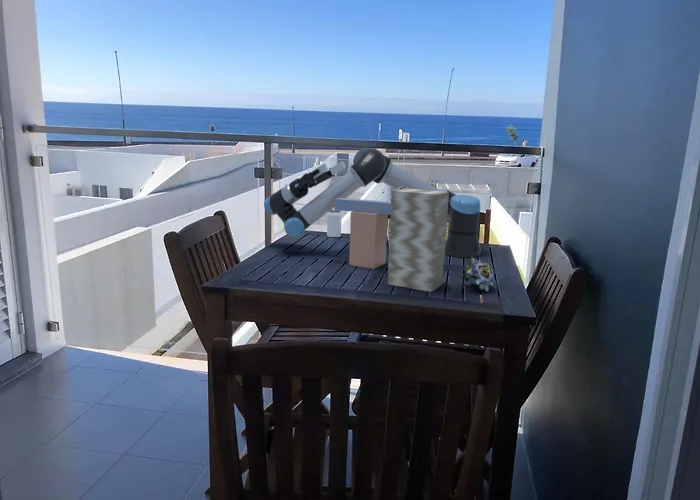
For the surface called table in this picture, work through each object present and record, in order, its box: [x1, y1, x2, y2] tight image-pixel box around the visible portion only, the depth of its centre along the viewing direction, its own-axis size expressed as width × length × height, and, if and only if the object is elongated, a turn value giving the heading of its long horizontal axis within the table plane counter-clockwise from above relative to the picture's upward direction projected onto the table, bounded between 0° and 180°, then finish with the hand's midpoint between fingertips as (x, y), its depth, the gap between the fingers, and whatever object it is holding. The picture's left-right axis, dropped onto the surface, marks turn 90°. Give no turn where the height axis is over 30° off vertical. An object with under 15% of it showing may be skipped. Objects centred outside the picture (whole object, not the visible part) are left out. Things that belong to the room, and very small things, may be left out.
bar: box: [334, 197, 391, 216], centre depth 188 cm, size 24×4×4 cm, turn 68°
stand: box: [387, 188, 449, 293], centre depth 166 cm, size 15×10×30 cm, turn 62°
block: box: [348, 211, 389, 270], centre depth 191 cm, size 10×10×20 cm
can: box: [326, 209, 342, 238], centre depth 242 cm, size 6×6×12 cm
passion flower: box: [459, 257, 495, 293], centre depth 167 cm, size 11×11×12 cm
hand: (335, 165), depth 199 cm, fingers open, 12 cm apart
